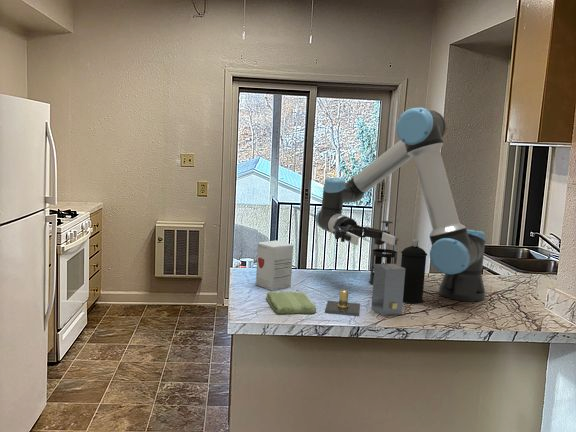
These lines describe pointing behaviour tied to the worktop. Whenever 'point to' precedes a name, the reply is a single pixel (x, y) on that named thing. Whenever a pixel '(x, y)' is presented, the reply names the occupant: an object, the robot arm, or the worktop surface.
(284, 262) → the supplement box
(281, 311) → the washcloth
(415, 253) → the aerosol can
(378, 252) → the french press
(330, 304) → the post base
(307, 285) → the worktop surface
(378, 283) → the grey block
